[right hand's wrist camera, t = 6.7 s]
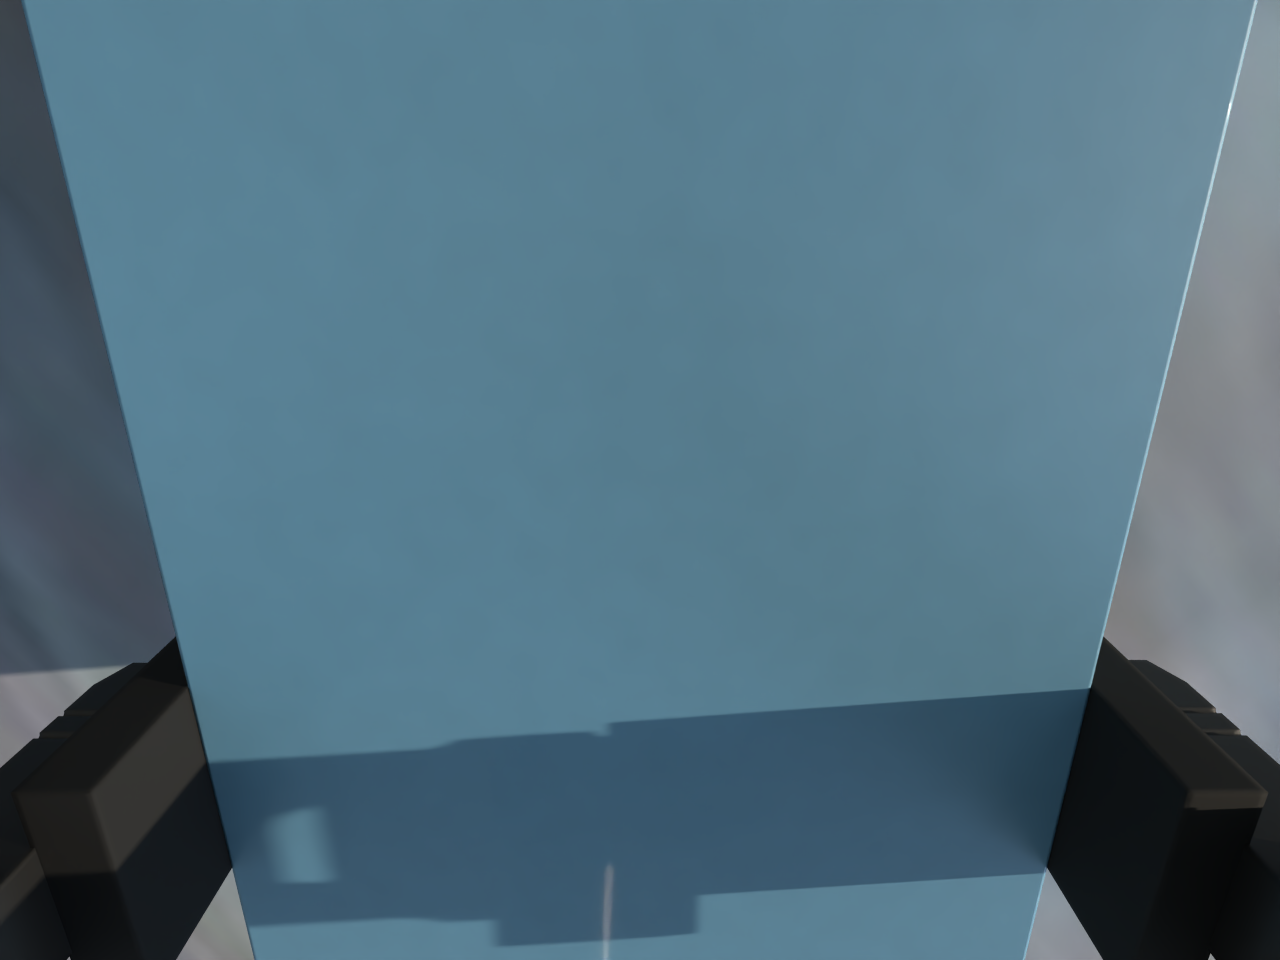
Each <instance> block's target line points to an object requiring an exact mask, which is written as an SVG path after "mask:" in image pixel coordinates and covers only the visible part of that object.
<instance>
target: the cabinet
mask: <svg viewBox="0 0 1280 960" xmlns="http://www.w3.org/2000/svg"><path fill="white" fill-rule="evenodd" d="M1257 1H1258V0H21V2H22V6H23V10H24V14H25V18H26V22H27V26H28V30H29V35H30V39H31V43H32V47H33V51H34V55H35V59H36V63H37V67H38V72H39V76H40V80H41V84H42V88H43V92H44V96H45V100H46V104H47V109H48V113H49V117H50V121H51V125H52V129H53V133H54V137H55V141H56V146H57V150H58V154H59V158H60V162H61V166H62V170H63V174H64V178H65V182H66V187H67V191H68V195H69V199H70V203H71V207H72V211H73V215H74V219H75V224H76V228H77V232H78V236H79V240H80V244H81V248H82V252H83V256H84V261H85V265H86V269H87V273H88V277H89V281H90V285H91V289H92V293H93V298H94V302H95V306H96V310H97V314H98V318H99V322H100V326H101V330H102V335H103V339H104V343H105V347H106V351H107V355H108V359H109V363H110V367H111V372H112V376H113V380H114V384H115V388H116V392H117V396H118V400H119V404H120V409H121V413H122V417H123V421H124V425H125V429H126V433H127V437H128V441H129V446H130V450H131V454H132V458H133V462H134V466H135V470H136V474H137V478H138V482H139V487H140V491H141V495H142V499H143V503H144V507H145V511H146V515H147V519H148V524H149V528H150V532H151V536H152V540H153V544H154V548H155V552H156V556H157V561H158V565H159V569H160V573H161V577H162V581H163V585H164V589H165V593H166V598H167V602H168V606H169V610H170V614H171V618H172V622H173V626H174V630H175V635H176V639H177V643H178V647H179V651H180V655H181V659H182V663H183V667H184V672H185V676H186V680H187V684H188V688H189V692H190V696H191V700H192V704H193V709H194V713H195V717H196V721H197V725H198V729H199V733H200V737H201V741H202V746H203V750H204V754H205V758H206V762H207V766H208V770H209V774H210V778H211V782H212V787H213V791H214V795H215V799H216V803H217V807H218V811H219V815H220V819H221V824H222V828H223V832H224V836H225V840H226V844H227V848H228V852H229V856H230V861H231V865H232V869H233V873H234V877H235V881H236V885H237V889H238V893H239V898H240V902H241V906H242V910H243V914H244V918H245V922H246V926H247V930H248V935H249V939H250V943H251V947H252V951H253V955H254V959H255V960H1025V956H1026V952H1027V948H1028V943H1029V939H1030V935H1031V931H1032V927H1033V923H1034V919H1035V915H1036V911H1037V906H1038V902H1039V898H1040V894H1041V890H1042V886H1043V882H1044V878H1045V873H1046V869H1047V865H1048V861H1049V857H1050V853H1051V849H1052V845H1053V841H1054V836H1055V832H1056V828H1057V824H1058V820H1059V816H1060V812H1061V808H1062V804H1063V799H1064V795H1065V791H1066V787H1067V783H1068V779H1069V775H1070V771H1071V766H1072V762H1073V758H1074V754H1075V750H1076V746H1077V742H1078V738H1079V734H1080V729H1081V725H1082V721H1083V717H1084V713H1085V709H1086V705H1087V701H1088V696H1089V692H1090V688H1091V684H1092V680H1093V676H1094V672H1095V668H1096V664H1097V659H1098V655H1099V651H1100V647H1101V643H1102V639H1103V635H1104V631H1105V627H1106V622H1107V618H1108V614H1109V610H1110V606H1111V602H1112V598H1113V594H1114V589H1115V585H1116V581H1117V577H1118V573H1119V569H1120V565H1121V561H1122V557H1123V552H1124V548H1125V544H1126V540H1127V536H1128V532H1129V528H1130V524H1131V520H1132V515H1133V511H1134V507H1135V503H1136V499H1137V495H1138V491H1139V487H1140V482H1141V478H1142V474H1143V470H1144V466H1145V462H1146V458H1147V454H1148V450H1149V445H1150V441H1151V437H1152V433H1153V429H1154V425H1155V421H1156V417H1157V412H1158V408H1159V404H1160V400H1161V396H1162V392H1163V388H1164V384H1165V380H1166V375H1167V371H1168V367H1169V363H1170V359H1171V355H1172V351H1173V347H1174V343H1175V338H1176V334H1177V330H1178V326H1179V322H1180V318H1181V314H1182V310H1183V305H1184V301H1185V297H1186V293H1187V289H1188V285H1189V281H1190V277H1191V273H1192V268H1193V264H1194V260H1195V256H1196V252H1197V248H1198V244H1199V240H1200V235H1201V231H1202V227H1203V223H1204V219H1205V215H1206V211H1207V207H1208V203H1209V198H1210V194H1211V190H1212V186H1213V182H1214V178H1215V174H1216V170H1217V166H1218V161H1219V157H1220V153H1221V149H1222V145H1223V141H1224V137H1225V133H1226V128H1227V124H1228V120H1229V116H1230V112H1231V108H1232V104H1233V100H1234V96H1235V91H1236V87H1237V83H1238V79H1239V75H1240V71H1241V67H1242V63H1243V59H1244V54H1245V50H1246V46H1247V42H1248V38H1249V34H1250V30H1251V26H1252V21H1253V17H1254V13H1255V9H1256V5H1257Z"/></svg>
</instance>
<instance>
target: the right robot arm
mask: <svg viewBox="0 0 1280 960" xmlns="http://www.w3.org/2000/svg"><path fill="white" fill-rule="evenodd" d="M231 868H232V865H231V861H230V856H229V852H228V848H227V844H226V840H225V836H224V832H223V828H222V824H221V819H220V815H219V811H218V807H217V803H216V799H215V795H214V791H213V787H212V782H211V778H210V774H209V770H208V766H207V762H206V758H205V754H204V750H203V746H202V741H201V737H200V733H199V729H198V725H197V721H196V717H195V713H194V709H193V704H192V700H191V696H190V692H189V688H188V684H187V680H186V676H185V672H184V667H183V663H182V659H181V655H180V651H179V647H178V643H177V639H176V637H175V638H174V639H173V640H172V641H170V642H169V643H168V644H167V645H166V646H165V647H164V648H163V649H162V650H161V651H160V652H159V653H158V654H157V655H156V656H155V657H154V658H152V659H151V660H150V661H149V662H148V663H132V664H130V665H128V666H127V667H125V668H123V669H121V670H119V671H118V672H116V673H114V674H112V675H110V676H109V677H107V678H105V679H103V680H101V681H100V682H98V683H96V684H94V685H93V686H92V687H91V688H89V689H88V690H87V691H86V692H85V693H84V694H83V695H82V696H81V697H79V698H78V699H77V700H76V701H75V702H74V703H73V704H72V705H70V706H69V707H68V708H67V709H66V710H65V711H64V716H58V717H57V718H56V719H55V720H54V721H52V722H51V723H50V724H49V725H48V726H47V727H46V728H45V729H43V730H42V731H41V732H40V736H39V738H38V739H32V740H31V741H30V742H29V743H28V744H27V745H26V746H24V747H23V748H22V749H21V750H20V751H19V752H18V753H17V754H15V755H14V756H13V757H12V758H11V759H10V760H9V761H8V762H6V763H5V764H4V765H3V766H2V767H1V768H0V960H67V959H68V957H69V956H70V959H71V960H176V959H177V957H178V956H179V954H180V952H181V951H182V949H183V947H184V946H185V944H186V942H187V941H188V939H189V937H190V936H191V934H192V933H193V931H194V929H195V928H196V926H197V924H198V923H199V921H200V919H201V918H202V916H203V914H204V913H205V911H206V910H207V908H208V906H209V905H210V903H211V901H212V900H213V898H214V896H215V895H216V893H217V891H218V890H219V888H220V887H221V885H222V883H223V882H224V880H225V878H226V877H227V875H228V873H229V872H230V870H231ZM1047 868H1048V870H1049V871H1050V873H1051V875H1052V876H1053V878H1054V880H1055V881H1056V883H1057V885H1058V886H1059V888H1060V889H1061V891H1062V893H1063V894H1064V896H1065V898H1066V899H1067V901H1068V903H1069V904H1070V906H1071V908H1072V909H1073V911H1074V913H1075V914H1076V916H1077V917H1078V919H1079V921H1080V922H1081V924H1082V926H1083V927H1084V929H1085V931H1086V932H1087V934H1088V936H1089V937H1090V939H1091V940H1092V942H1093V944H1094V945H1095V947H1096V949H1097V950H1098V952H1099V954H1100V955H1101V957H1102V959H1103V960H1208V958H1209V956H1210V953H1211V954H1212V956H1213V957H1214V958H1215V960H1280V765H1279V764H1278V763H1277V762H1276V761H1275V760H1274V759H1272V758H1271V757H1270V756H1269V755H1268V754H1267V753H1266V752H1265V751H1263V750H1262V749H1261V748H1260V747H1259V746H1258V745H1257V744H1256V743H1254V742H1253V741H1252V740H1251V739H1250V738H1249V737H1248V736H1242V735H1241V734H1240V729H1239V728H1237V727H1236V726H1235V725H1234V724H1233V723H1232V722H1231V721H1230V720H1228V719H1227V718H1226V717H1225V716H1224V715H1223V714H1222V713H1216V708H1215V707H1214V706H1213V705H1211V704H1210V703H1209V702H1208V701H1207V700H1206V699H1205V698H1204V697H1202V696H1201V695H1200V694H1199V693H1198V692H1197V691H1196V690H1195V689H1193V688H1192V687H1191V686H1190V685H1189V684H1188V683H1187V682H1185V681H1183V680H1181V679H1180V678H1178V677H1176V676H1174V675H1172V674H1171V673H1169V672H1167V671H1165V670H1163V669H1162V668H1160V667H1158V666H1156V665H1154V664H1153V663H1151V662H1149V661H1147V660H1128V659H1127V658H1126V657H1125V656H1123V655H1122V654H1121V653H1120V652H1119V651H1118V650H1117V649H1116V648H1115V647H1114V646H1113V645H1112V644H1111V643H1110V642H1109V641H1108V640H1107V639H1105V638H1104V637H1103V639H1102V643H1101V647H1100V651H1099V655H1098V659H1097V664H1096V668H1095V672H1094V676H1093V680H1092V684H1091V688H1090V692H1089V696H1088V701H1087V705H1086V709H1085V713H1084V717H1083V721H1082V725H1081V729H1080V734H1079V738H1078V742H1077V746H1076V750H1075V754H1074V758H1073V762H1072V766H1071V771H1070V775H1069V779H1068V783H1067V787H1066V791H1065V795H1064V799H1063V804H1062V808H1061V812H1060V816H1059V820H1058V824H1057V828H1056V832H1055V836H1054V841H1053V845H1052V849H1051V853H1050V857H1049V861H1048V865H1047Z"/></svg>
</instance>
